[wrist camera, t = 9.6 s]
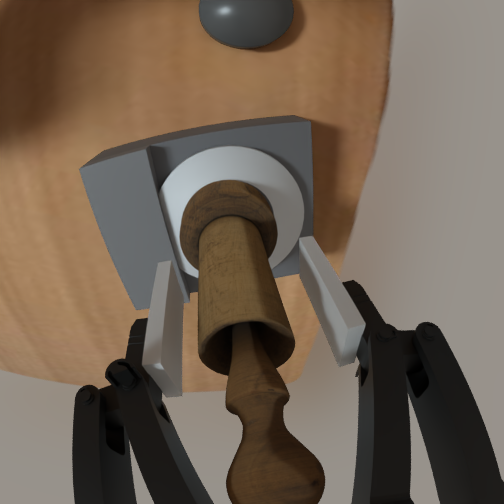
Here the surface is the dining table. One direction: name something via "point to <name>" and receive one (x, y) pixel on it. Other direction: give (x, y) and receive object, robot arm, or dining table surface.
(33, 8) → the dining table surface
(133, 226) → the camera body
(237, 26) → the dark grey dome
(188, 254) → the brown wooden pepper mill
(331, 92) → the dining table surface
